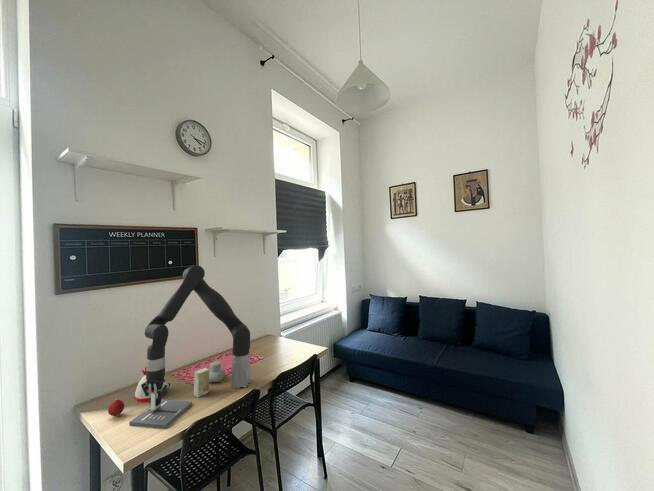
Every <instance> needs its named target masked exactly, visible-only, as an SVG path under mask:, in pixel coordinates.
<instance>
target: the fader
mask: <svg viewBox="0 0 654 491" xmlns="http://www.w3.org/2000/svg"><path fill="white" fill-rule="evenodd" d="M155 402H156V394H155V392H154V391H153V392H151V406H150V407H151V410H149V413H153V412H154V411H156V410H157V409H158V408H160V407H161V405H158V406H155Z"/></svg>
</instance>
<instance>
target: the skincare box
mask: <svg viewBox="0 0 654 491" xmlns="http://www.w3.org/2000/svg"><path fill="white" fill-rule="evenodd" d="M209 370H210V368H207V367H204V368H201V369H198V370H195V371H194V372H193V373H194V374H193V377H194V378H193V396H195V397H197V398H200V397H202V396H204V395H206V394H209V393H208V392H210V382H209Z"/></svg>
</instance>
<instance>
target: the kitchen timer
mask: <svg viewBox="0 0 654 491" xmlns="http://www.w3.org/2000/svg"><path fill="white" fill-rule="evenodd" d="M141 372H142V374H143V376H142V377H141V379H140V380H139V381H138V382H137V385H136V390H135V393H134V400H135V401H136V402H139V403H147V402H150V398H149V396H145V393H144V391H143V389H142V387H141V384H143V383H144V382H146V381H147V380H146V366H145V368H144V370H143V369H142V370H141ZM162 387H163V386H162ZM162 389H163V388H162ZM147 392H148V390H147Z"/></svg>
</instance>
